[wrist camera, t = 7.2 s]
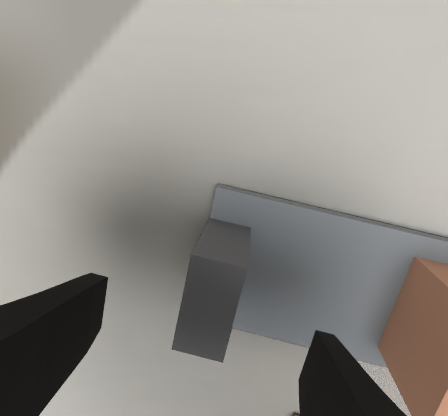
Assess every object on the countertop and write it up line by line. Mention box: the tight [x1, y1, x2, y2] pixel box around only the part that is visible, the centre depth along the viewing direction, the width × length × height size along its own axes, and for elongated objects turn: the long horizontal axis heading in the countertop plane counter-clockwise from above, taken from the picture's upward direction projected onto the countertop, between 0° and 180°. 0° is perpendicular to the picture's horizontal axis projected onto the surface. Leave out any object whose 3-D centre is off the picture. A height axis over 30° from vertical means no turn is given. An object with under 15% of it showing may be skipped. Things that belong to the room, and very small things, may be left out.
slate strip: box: [172, 184, 448, 368], centre depth 15 cm, size 7×18×5 cm, turn 78°
